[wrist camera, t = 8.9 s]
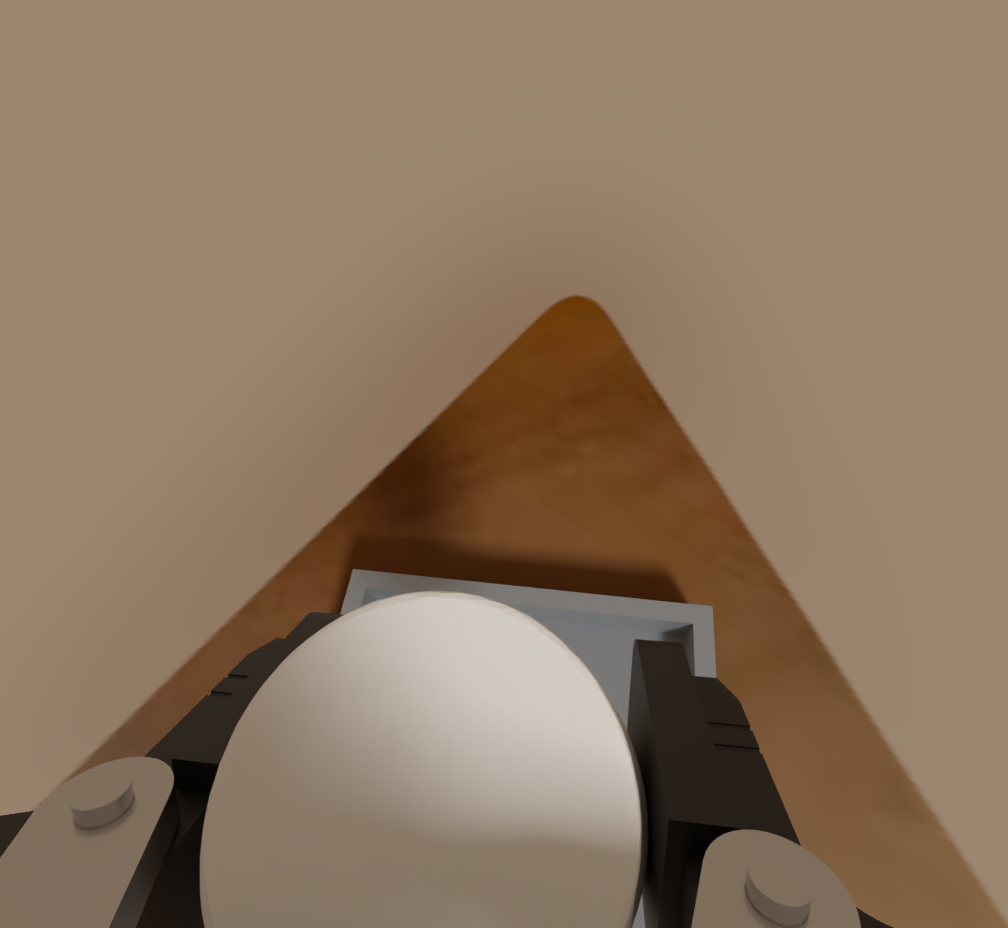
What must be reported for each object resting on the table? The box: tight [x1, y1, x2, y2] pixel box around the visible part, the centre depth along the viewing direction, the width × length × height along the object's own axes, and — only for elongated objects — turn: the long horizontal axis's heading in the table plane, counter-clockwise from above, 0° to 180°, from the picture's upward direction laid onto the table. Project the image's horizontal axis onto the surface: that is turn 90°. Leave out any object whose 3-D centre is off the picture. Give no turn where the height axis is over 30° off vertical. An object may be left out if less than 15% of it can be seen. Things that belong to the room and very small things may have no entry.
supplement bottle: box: [200, 591, 649, 928], centre depth 9 cm, size 5×5×8 cm
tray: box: [340, 569, 716, 928], centre depth 21 cm, size 16×16×2 cm
